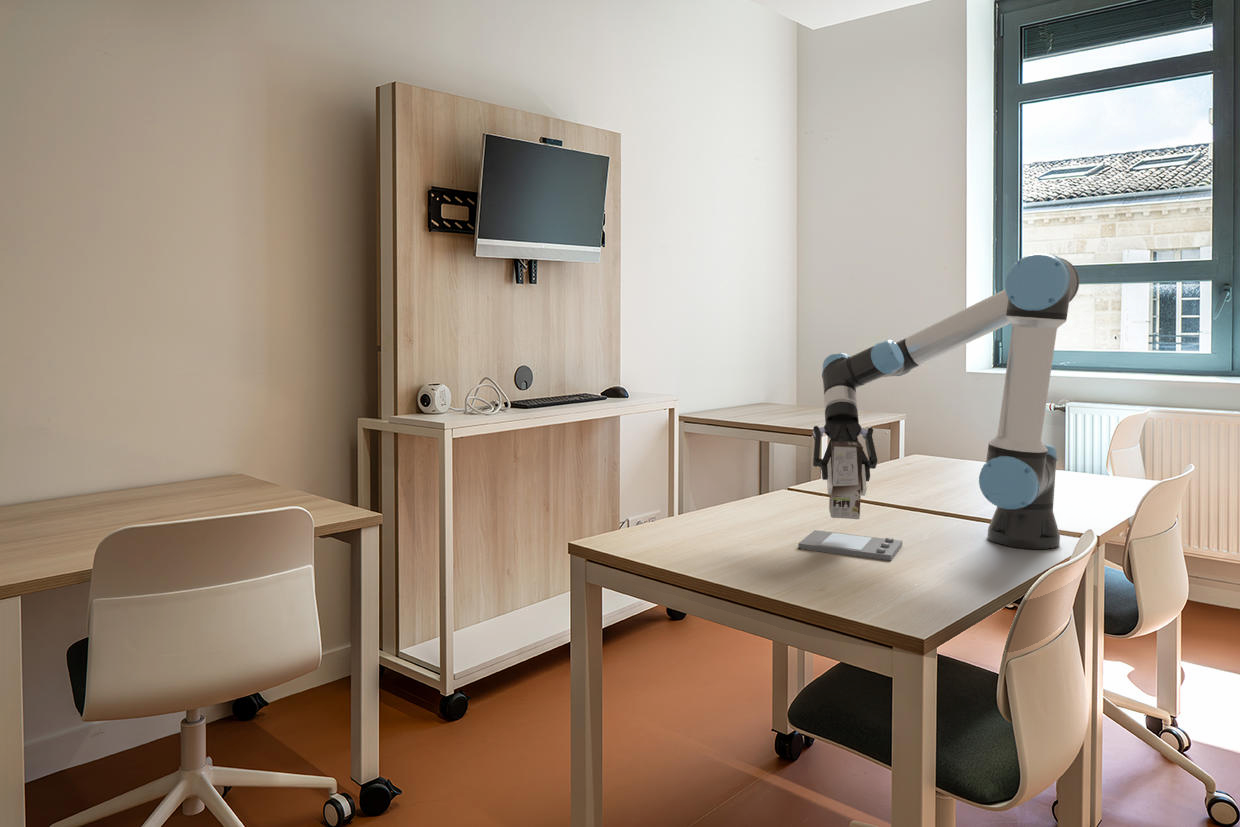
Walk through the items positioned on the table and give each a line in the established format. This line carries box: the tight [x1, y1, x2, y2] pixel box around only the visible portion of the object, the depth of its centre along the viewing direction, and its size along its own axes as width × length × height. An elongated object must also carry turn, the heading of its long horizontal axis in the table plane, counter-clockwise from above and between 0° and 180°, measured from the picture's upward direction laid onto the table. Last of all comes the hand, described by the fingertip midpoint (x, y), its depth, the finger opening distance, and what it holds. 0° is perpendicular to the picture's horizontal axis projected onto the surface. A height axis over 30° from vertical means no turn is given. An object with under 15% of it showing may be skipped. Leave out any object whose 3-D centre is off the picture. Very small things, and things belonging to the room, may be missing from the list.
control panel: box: [797, 529, 903, 561], centre depth 192 cm, size 20×14×2 cm
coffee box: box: [828, 441, 864, 520], centre depth 191 cm, size 9×6×16 cm
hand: (847, 491), depth 188 cm, fingers closed on coffee box, 7 cm apart
